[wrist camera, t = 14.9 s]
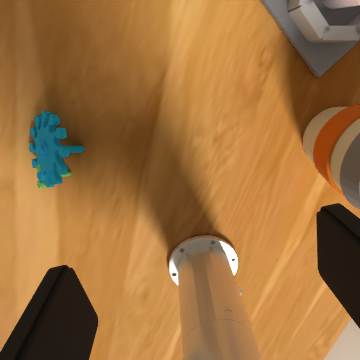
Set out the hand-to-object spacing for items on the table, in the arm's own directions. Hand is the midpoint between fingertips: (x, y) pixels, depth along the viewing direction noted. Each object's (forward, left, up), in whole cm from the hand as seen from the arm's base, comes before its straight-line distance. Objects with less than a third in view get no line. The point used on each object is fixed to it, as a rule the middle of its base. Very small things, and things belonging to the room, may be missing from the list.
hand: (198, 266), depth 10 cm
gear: (+10, +15, -31) cm, 35 cm away
